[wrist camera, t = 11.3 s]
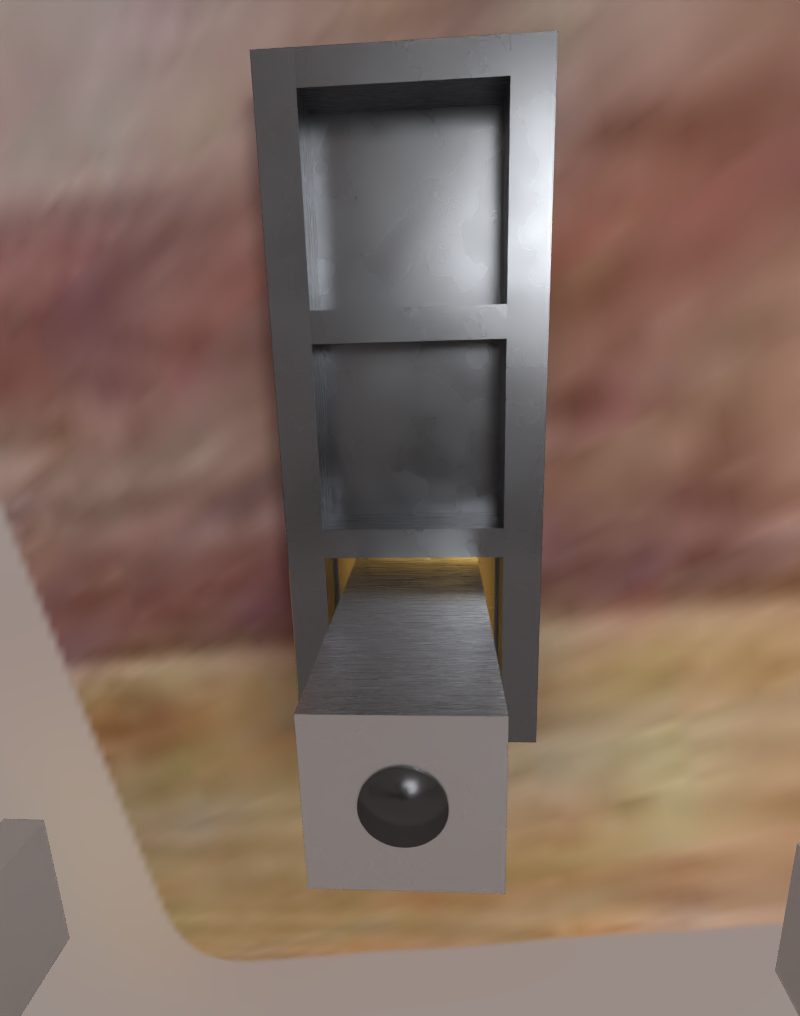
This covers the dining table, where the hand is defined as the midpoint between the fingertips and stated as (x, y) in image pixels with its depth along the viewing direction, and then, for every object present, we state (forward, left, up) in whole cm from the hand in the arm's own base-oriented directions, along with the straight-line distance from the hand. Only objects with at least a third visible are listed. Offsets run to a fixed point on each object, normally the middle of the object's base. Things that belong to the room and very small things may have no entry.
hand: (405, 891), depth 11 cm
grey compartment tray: (-7, 0, -13) cm, 15 cm away
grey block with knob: (0, 0, -13) cm, 13 cm away
